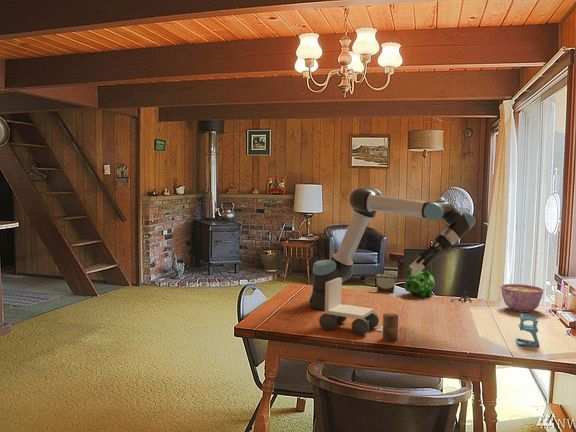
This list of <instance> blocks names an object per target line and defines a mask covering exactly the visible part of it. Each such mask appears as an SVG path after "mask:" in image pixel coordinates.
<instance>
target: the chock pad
mask: <svg viewBox="0 0 576 432" xmlns="http://www.w3.org/2000/svg"><path fill="white" fill-rule="evenodd" d="M400 329H401V327H400V326H398V331H399V330H400ZM375 332H380V333H383V324H382V325H381V326H379V327H378V328H377V329H375Z"/></svg>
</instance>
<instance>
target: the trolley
mask: <svg viewBox="0 0 576 432" xmlns="http://www.w3.org/2000/svg"><path fill="white" fill-rule="evenodd" d="M342 283H343V282H342V278H336V279H333V280H331V281H328V282H326V283H325V310H324V313H323V314H321V316H319V319H318V322H319V326H320V327H321V329H323V330H325V331H330V330H332V329H334V328H335V326H337V324H338V323H339V324H343V323H344V322H345V321H346V320H347V318H351V319H354V320H353V321H352V323H351V330H352V332H353V333H354V334H355V335H356V336H358V337H359V336H360V337H362V336H365V335H366V334H367V333H368V332H369V330H370V329H374V328H376V327H378V325H379V323H380V318H379V315H378V314H376V312H374V311H375V309H374V308H372V307H362V306H357V305H350V304H342V291H343V288H342V287H343V285H342Z"/></svg>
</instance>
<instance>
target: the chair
mask: <svg viewBox="0 0 576 432" xmlns="http://www.w3.org/2000/svg"><path fill="white" fill-rule="evenodd" d="M519 319H520V323H518V328H519V330H520V331H525V332H529V334H531V336H532V338H533V340H531V339H530V340H529V339H524V338H519V337H515V342H517V343H516V345H517V344H518V345H540V342H539V339H538V336H537V333H538V332H539V328H538V326H537V325H538V323H539V320H537V319H538V318H537V317H535V316H533V315H531V314H528V313H521V314H519ZM526 321H530V322H532V324H525V323H524V322H526ZM518 340H521V341H518ZM522 341H526V342H522ZM527 342H531V343H527Z"/></svg>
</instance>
